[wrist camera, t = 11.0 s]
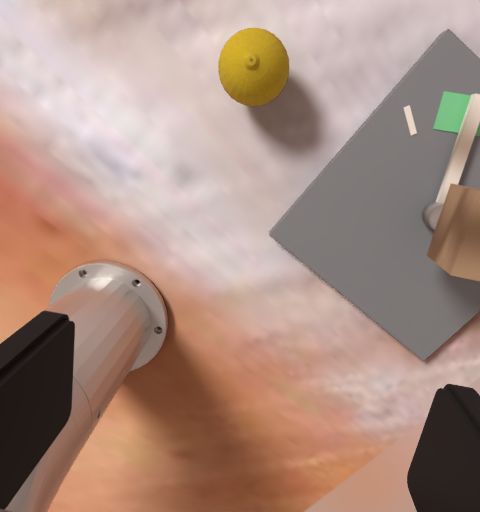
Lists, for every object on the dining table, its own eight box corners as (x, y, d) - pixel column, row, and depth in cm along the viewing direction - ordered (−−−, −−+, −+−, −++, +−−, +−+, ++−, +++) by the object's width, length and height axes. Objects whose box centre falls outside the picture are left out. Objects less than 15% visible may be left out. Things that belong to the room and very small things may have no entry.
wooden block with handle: (438, 248, 38) (484, 282, 29) (412, 243, 38) (450, 275, 29) (490, 98, 34) (560, 87, 25) (461, 93, 34) (522, 80, 25)
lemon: (300, 80, 36) (307, 66, 29) (250, 121, 37) (243, 119, 30) (262, 25, 35) (258, -4, 28) (211, 69, 36) (195, 53, 29)
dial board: (418, 353, 43) (423, 361, 41) (269, 231, 40) (269, 235, 39) (603, 187, 37) (617, 190, 35) (441, 33, 34) (449, 28, 33)
